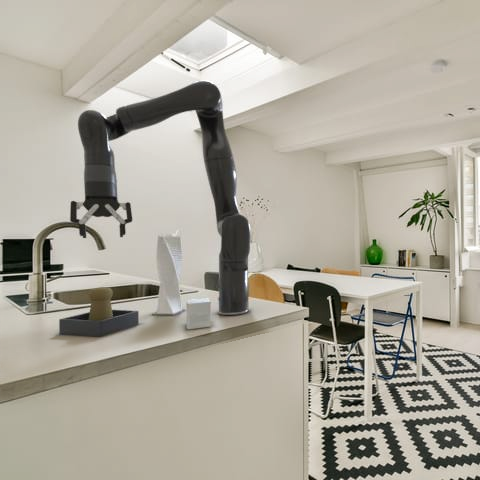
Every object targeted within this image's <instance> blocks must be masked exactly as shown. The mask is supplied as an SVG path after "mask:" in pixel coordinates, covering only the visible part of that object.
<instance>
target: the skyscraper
mask: <svg viewBox="0 0 480 480" xmlns="http://www.w3.org/2000/svg"><path fill="white" fill-rule="evenodd" d="M178 232H179V236H177V235H178ZM182 234H183V230H182V229H181V228H178V229H177V230H176V231H175V233H164V234H163V233H159V234H158V235H157V241H156V270H157V275H158V279H159V288H158V296H157V305H156V311H155V312H153V313H151V316H175V315H178V314H180V313H181V312H184V311H185V310H186V309H185V308H182V306H183V305H182V295H181V287H180V280H179V278H180V274H181V269H182V263H183V242H182Z"/></svg>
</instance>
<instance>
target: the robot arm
mask: <svg viewBox="0 0 480 480" xmlns="http://www.w3.org/2000/svg"><path fill="white" fill-rule="evenodd" d="M191 111H193V112H194V111H195V113H196V116H197V119H198V123H199V127H200V132H201V138H202V139H201V144H202V145H201V146H202V157H203V164H204V168H205V172H206V176H207V180H208V184H209V189H210V191H211V196H212V198H213V203H214V210H215V220H216V229H217V233H218V234H219V236H220V237H221V239H220V240H221V241H220V251H219V254H218V296H217V301H218V312H217V313H218V314H219V315H222V316H237V315H244V314H246V313H248V312H249V294H250V293H249V255H250V251H251V236H252V235H251V231H252V230H251V224H250V221H249V219H248V218H247V217H246V216H244V215H242V214H241V213H240V209H239V206H238V202H237V184H238V183H237V182H238V179H237V178H238V176H237V169H236V162H235V158H234V155H233V150H232V147H231V144H230V142H229V141H230V140H229V139H228V136H227V133H226V129H225V121H224V112H223V99H222V93H221V91H220V89H219V87H218V85H216V84H215V83H213V82H212V81H209V80H197V81H195V82H192V83H190V84H188V85H186V86H184V87H182V88H179V89H176V90H174V91H172V92H169V93H166V94H163V95H161V96H157V97H153V98H150V99H146V100H143V101H139V102H135V103H130V104H127V105H122V106H120V107H119V106H118V108H116V110H115V113H114V114H112V115H109V116H105V115H104V114H103V113H101V112H100V111H97V110H94V109H86V110H83V112H82V113H80V115H79V116H78V119H77V130H78V134H79V138H80V142H81V146H82V147H83V159H84V160H83V162H84V163H83V165H84V169H83V185H84V200H83V202H82V201H75V200H72V201H70V209H69V210H70V213H69V214H70V216H69V221H70V222H71V223H72V224H76V225H78V231H79V234H78V235H79V236H80V237H82V239H87V225H86V224H87V222H88V221H89V220H90V219H91V218H92V217H94V218H102V217H103V218H110V217H113V218H114V219H115V220H116V221H117V222H118V223H119V225H118V226H119V227H118V228H119V238H124V236H125V235H126V234H127V232H126V231H127V230H126V225H127V224H130V223H132V222H133V213H132V205H131V202H129V201H127V202H119V199H118V180H117V172H116V164H115V162H116V161H115V153H114V150H113V148H111V146H110V142H112V141H114V140H118V139H120V138H121V137H123V136H126V135H128V134H130V133H131V132H134V131H137V130H141V129H146V128H149V127H152V126H155V125H158V124H160V123H162V122H164V121H167V120H168V119H170V118H171V117H174V116H177V115H180V114H182V113H186V112H191ZM82 207H84V208H85V210H86V211H87V212H86V213H85V214H84V215H83V216H82V217H81V219H79V218H78V210H81V208H82ZM119 208H122V210H123V211H125V214H126V218H125V219H124V218H123V217H122V216H121V215H120V214H119V213H118V212H117V211H118V210H119Z"/></svg>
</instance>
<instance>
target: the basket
mask: <svg viewBox="0 0 480 480" xmlns="http://www.w3.org/2000/svg"><path fill="white" fill-rule="evenodd" d="M89 313H90V311H88V312H83V313H79V314H76V315H72V316H68V317H63V318H59V320H58V323H59V324H58V328H59V329H58V332H59V333H58V334H59V335H66V336H67V335H68V336H79V337H81V336H82V337H94V338H95V337H96V338H101V337H104V336H106V335H110V334H112V333H116V332H119V331H122V330H125V329H128V328H131V327H134V326H138V325H139V324H140V323H139V310H129V309H128V310H126V309H112V313H113V318H109V319H105V320H102V321H90V320H89Z"/></svg>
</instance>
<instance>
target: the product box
mask: <svg viewBox="0 0 480 480" xmlns="http://www.w3.org/2000/svg"><path fill="white" fill-rule="evenodd" d="M211 305H212V301H211V300H210V298H209V297H205V298H204V297H203V298H193V299H186V324H185V325H186V329H187V330H194V329H202V328H210V327H211V326H212V325H211V321H212V320H211V319H212V318H211V317H212V316H211V315H212V314H211V313H212V311H211V310H212V309H211Z"/></svg>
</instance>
